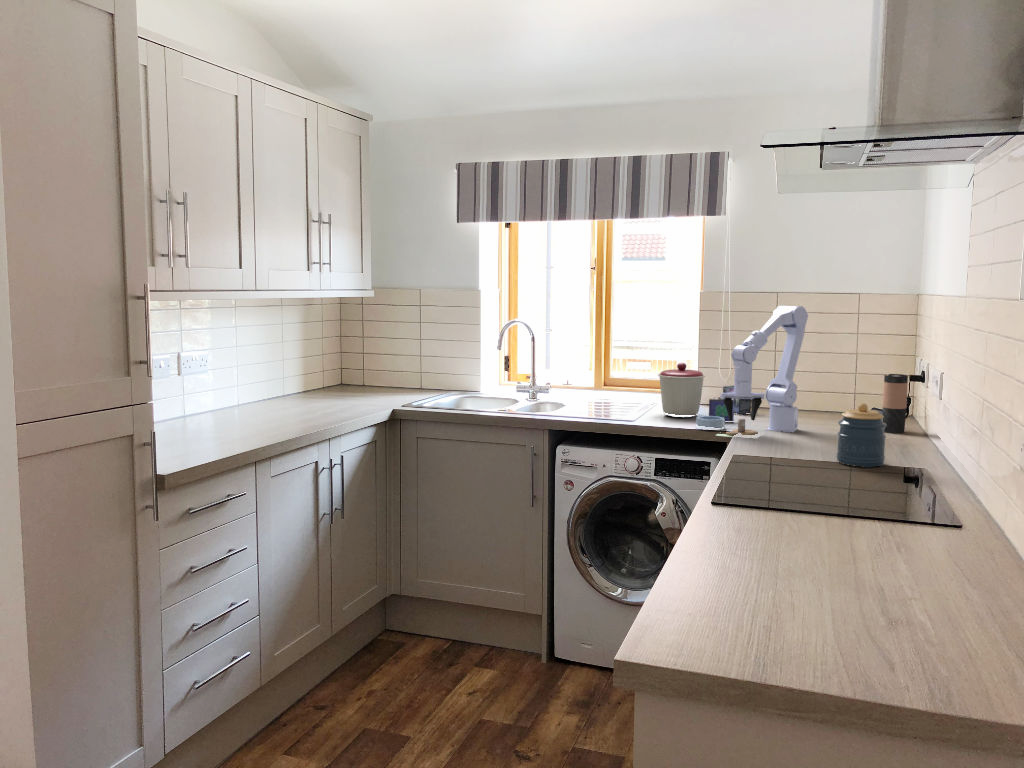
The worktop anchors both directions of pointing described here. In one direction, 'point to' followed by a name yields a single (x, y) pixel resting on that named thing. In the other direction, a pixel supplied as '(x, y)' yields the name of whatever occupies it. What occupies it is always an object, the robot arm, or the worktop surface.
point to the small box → (739, 402)
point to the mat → (723, 435)
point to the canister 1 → (681, 390)
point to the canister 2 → (861, 437)
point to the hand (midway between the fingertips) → (741, 419)
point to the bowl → (710, 421)
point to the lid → (741, 429)
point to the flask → (719, 408)
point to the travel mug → (895, 402)
